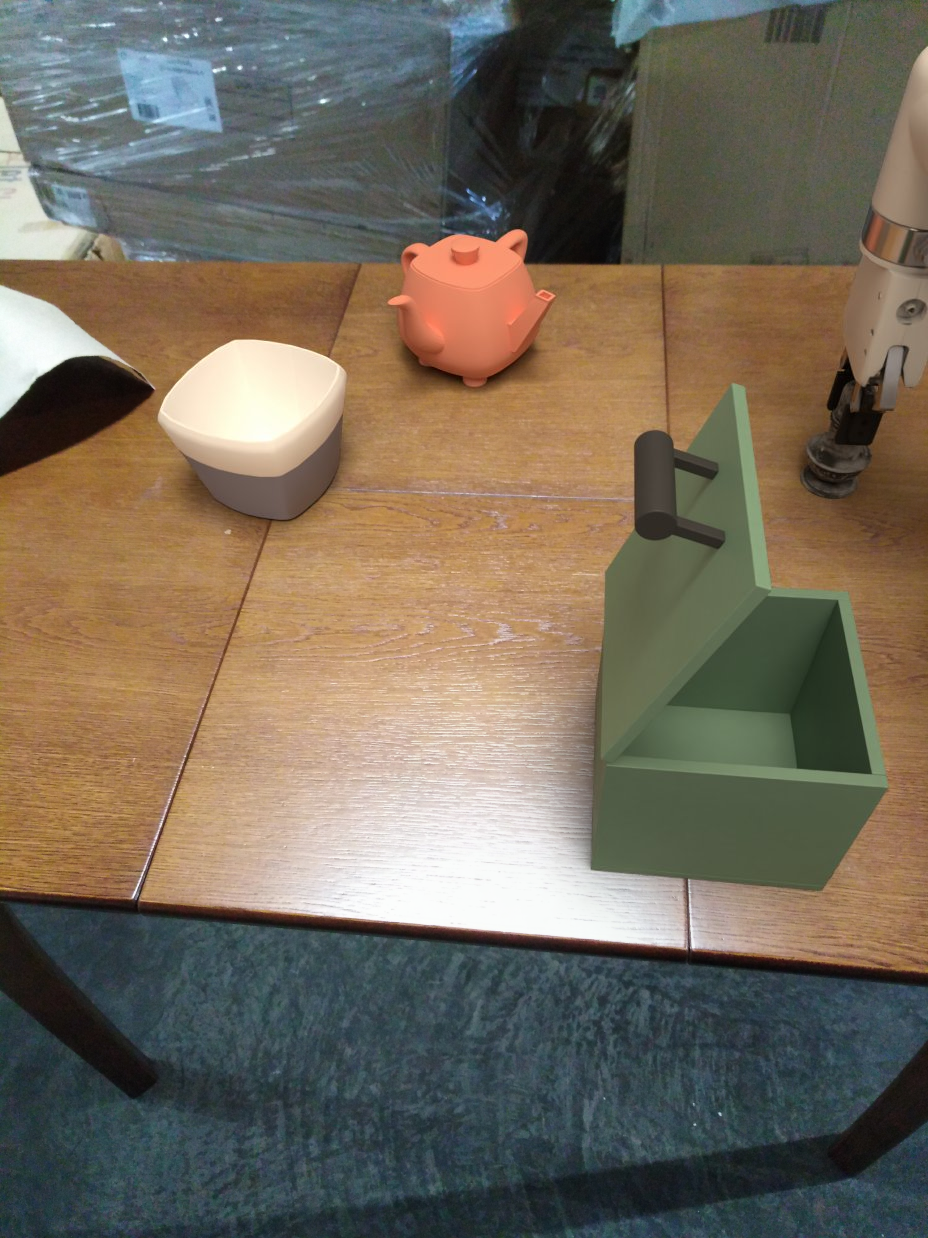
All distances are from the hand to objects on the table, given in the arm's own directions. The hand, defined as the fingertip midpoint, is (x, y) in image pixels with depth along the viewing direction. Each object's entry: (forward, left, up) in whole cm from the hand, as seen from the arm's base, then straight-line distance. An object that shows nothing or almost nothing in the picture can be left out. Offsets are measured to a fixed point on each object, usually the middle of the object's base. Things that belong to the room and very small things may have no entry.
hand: (848, 424), depth 81 cm
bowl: (+52, -17, -7) cm, 55 cm away
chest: (+26, +27, -7) cm, 38 cm away
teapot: (+28, -30, -7) cm, 42 cm away
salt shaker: (0, 0, -7) cm, 7 cm away
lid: (+30, +25, +16) cm, 42 cm away
